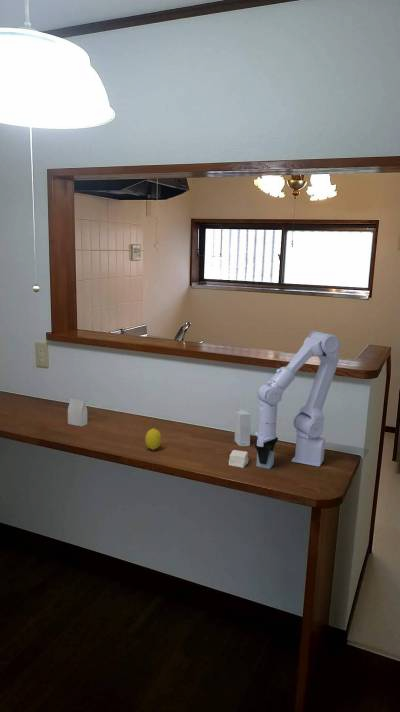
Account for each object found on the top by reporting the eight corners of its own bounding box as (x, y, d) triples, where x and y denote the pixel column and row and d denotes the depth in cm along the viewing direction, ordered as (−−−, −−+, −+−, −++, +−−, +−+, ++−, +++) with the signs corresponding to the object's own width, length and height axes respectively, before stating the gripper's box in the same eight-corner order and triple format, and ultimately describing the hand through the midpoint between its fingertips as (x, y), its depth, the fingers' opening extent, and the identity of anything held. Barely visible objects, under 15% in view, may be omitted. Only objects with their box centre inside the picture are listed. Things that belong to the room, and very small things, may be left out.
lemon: (146, 453, 177) (147, 431, 175) (144, 447, 182) (144, 426, 181) (162, 452, 178) (162, 430, 177) (159, 446, 184) (159, 425, 182)
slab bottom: (248, 463, 172) (248, 458, 171) (243, 468, 167) (243, 463, 167) (234, 461, 174) (234, 455, 173) (228, 466, 169) (228, 460, 169)
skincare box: (250, 446, 188) (252, 414, 186) (238, 446, 186) (240, 414, 184) (244, 440, 193) (246, 409, 191) (233, 441, 192) (234, 409, 190)
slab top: (247, 457, 172) (247, 451, 171) (244, 462, 167) (244, 457, 167) (233, 455, 173) (233, 449, 173) (229, 460, 168) (229, 455, 168)
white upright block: (81, 426, 204) (81, 402, 202) (67, 423, 206) (67, 399, 204) (87, 424, 207) (87, 399, 205) (73, 421, 210) (73, 397, 208)
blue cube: (273, 464, 171) (274, 451, 170) (269, 468, 167) (270, 455, 166) (260, 461, 173) (261, 448, 172) (256, 466, 169) (257, 453, 168)
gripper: (262, 414, 176) (260, 452, 178) (248, 425, 162) (246, 466, 165) (282, 417, 173) (280, 455, 175) (270, 428, 160) (267, 470, 162)
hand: (265, 461), depth 170 cm, fingers closed on blue cube, 4 cm apart
